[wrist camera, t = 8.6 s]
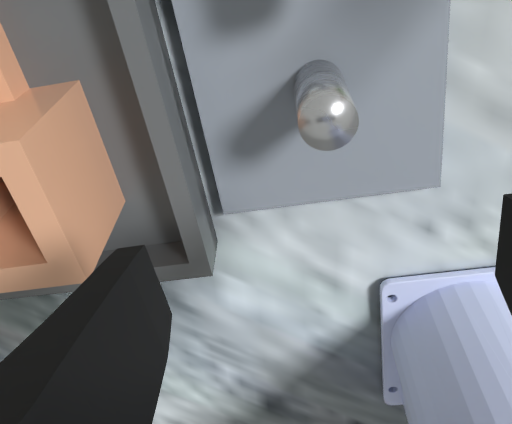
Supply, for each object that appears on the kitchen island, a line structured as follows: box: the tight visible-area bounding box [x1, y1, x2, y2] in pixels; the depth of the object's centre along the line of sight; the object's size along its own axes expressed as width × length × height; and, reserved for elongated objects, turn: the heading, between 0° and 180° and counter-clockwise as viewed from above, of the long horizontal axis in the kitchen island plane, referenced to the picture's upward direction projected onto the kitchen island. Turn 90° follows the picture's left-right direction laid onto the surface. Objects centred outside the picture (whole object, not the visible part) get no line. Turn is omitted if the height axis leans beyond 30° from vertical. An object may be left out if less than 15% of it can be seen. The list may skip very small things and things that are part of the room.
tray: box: [0, 0, 217, 300], centre depth 18 cm, size 14×12×2 cm
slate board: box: [171, 0, 450, 214], centre depth 16 cm, size 14×9×1 cm, turn 9°
